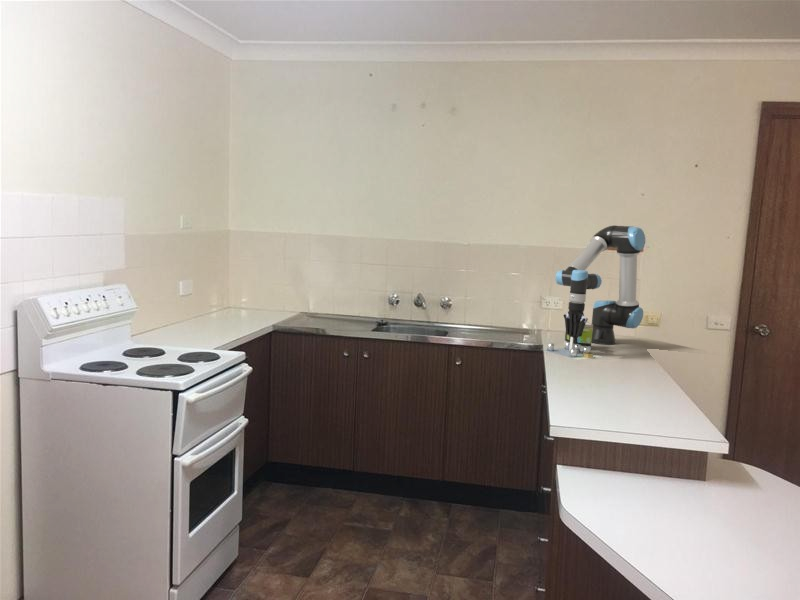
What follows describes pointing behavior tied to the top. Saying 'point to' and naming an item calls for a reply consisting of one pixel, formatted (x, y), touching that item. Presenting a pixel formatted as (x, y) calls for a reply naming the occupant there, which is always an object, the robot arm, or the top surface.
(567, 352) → the board
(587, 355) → the nut
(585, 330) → the tea box
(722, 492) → the top surface
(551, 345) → the set of silver spheres
